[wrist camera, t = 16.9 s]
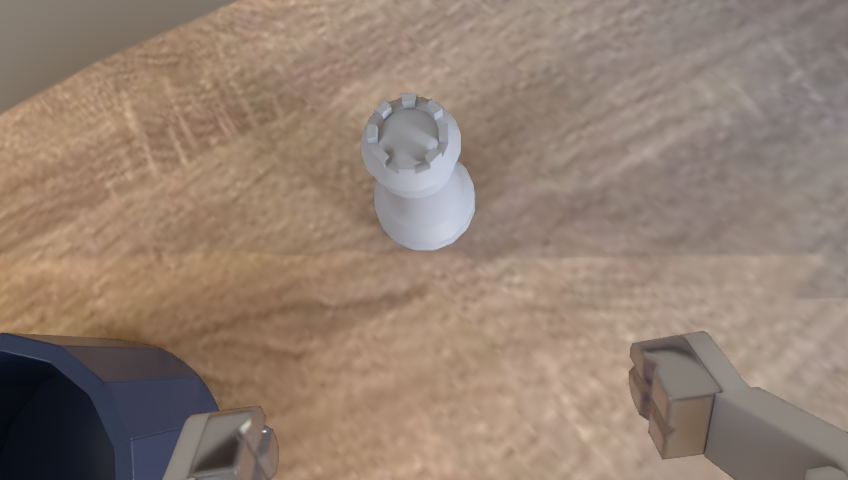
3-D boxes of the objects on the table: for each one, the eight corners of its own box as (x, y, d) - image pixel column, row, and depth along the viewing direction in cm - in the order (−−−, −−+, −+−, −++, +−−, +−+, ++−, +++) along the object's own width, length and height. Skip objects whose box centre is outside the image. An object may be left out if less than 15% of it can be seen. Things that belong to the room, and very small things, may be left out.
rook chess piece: (358, 191, 24) (309, 113, 17) (440, 140, 25) (429, 38, 17) (410, 272, 23) (383, 229, 16) (495, 218, 24) (510, 149, 16)
